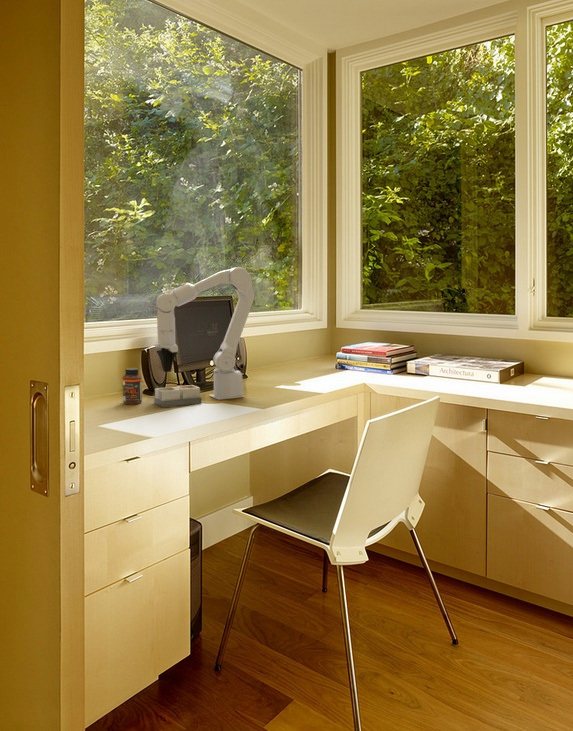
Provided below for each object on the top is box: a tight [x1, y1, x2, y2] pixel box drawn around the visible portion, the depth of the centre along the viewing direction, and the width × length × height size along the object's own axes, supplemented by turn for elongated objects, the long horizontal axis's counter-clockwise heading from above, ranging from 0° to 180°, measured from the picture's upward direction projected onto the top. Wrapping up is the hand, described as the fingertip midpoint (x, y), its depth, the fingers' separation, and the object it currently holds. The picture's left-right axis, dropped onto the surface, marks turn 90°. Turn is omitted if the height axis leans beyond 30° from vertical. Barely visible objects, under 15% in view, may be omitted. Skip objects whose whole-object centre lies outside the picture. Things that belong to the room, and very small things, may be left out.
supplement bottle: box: [122, 367, 143, 406], centre depth 200 cm, size 6×6×11 cm
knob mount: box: [153, 384, 202, 408], centre depth 201 cm, size 13×8×5 cm, turn 122°
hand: (167, 371), depth 206 cm, fingers closed
